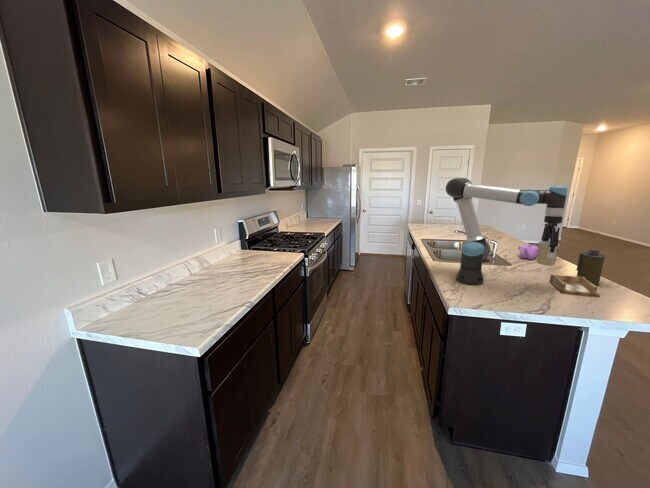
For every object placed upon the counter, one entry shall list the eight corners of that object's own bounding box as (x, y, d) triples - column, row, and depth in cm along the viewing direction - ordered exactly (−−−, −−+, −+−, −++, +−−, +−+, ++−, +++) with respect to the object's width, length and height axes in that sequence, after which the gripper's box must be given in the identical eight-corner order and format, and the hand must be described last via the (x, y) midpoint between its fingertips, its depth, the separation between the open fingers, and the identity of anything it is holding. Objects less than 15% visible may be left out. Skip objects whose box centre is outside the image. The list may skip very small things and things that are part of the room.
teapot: (543, 261, 206) (545, 247, 203) (522, 260, 209) (524, 246, 206) (533, 256, 220) (535, 242, 218) (514, 255, 223) (516, 242, 221)
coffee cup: (560, 266, 149) (564, 244, 146) (540, 265, 151) (544, 244, 148) (550, 261, 158) (553, 241, 155) (531, 260, 160) (535, 240, 157)
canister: (594, 280, 166) (601, 248, 162) (602, 286, 157) (610, 252, 153) (571, 278, 171) (577, 247, 166) (578, 284, 162) (584, 251, 157)
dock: (561, 293, 150) (562, 284, 148) (549, 282, 166) (550, 274, 165) (599, 297, 144) (601, 288, 143) (583, 285, 160) (584, 277, 159)
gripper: (571, 218, 137) (563, 261, 142) (554, 213, 157) (548, 251, 162) (552, 218, 140) (545, 260, 145) (538, 212, 159) (532, 250, 165)
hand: (546, 255), depth 153 cm, fingers closed on coffee cup, 9 cm apart
